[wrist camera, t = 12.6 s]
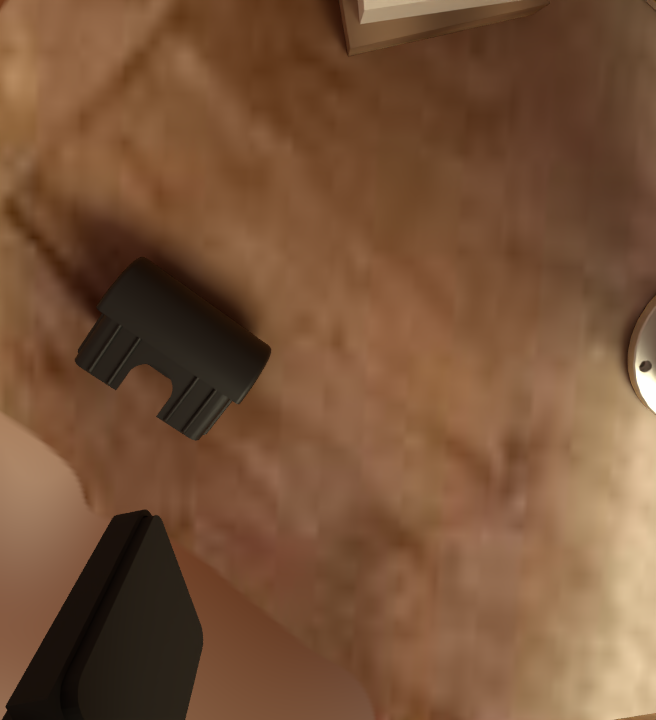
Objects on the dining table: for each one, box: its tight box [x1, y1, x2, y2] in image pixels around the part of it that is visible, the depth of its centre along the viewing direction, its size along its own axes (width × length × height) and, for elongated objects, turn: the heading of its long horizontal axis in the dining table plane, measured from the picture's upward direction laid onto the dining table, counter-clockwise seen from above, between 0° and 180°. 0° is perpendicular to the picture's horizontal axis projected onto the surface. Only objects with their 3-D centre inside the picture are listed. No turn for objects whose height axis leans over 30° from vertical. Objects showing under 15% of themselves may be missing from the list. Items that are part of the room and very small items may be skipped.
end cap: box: [75, 257, 271, 440], centre depth 38 cm, size 10×7×7 cm
